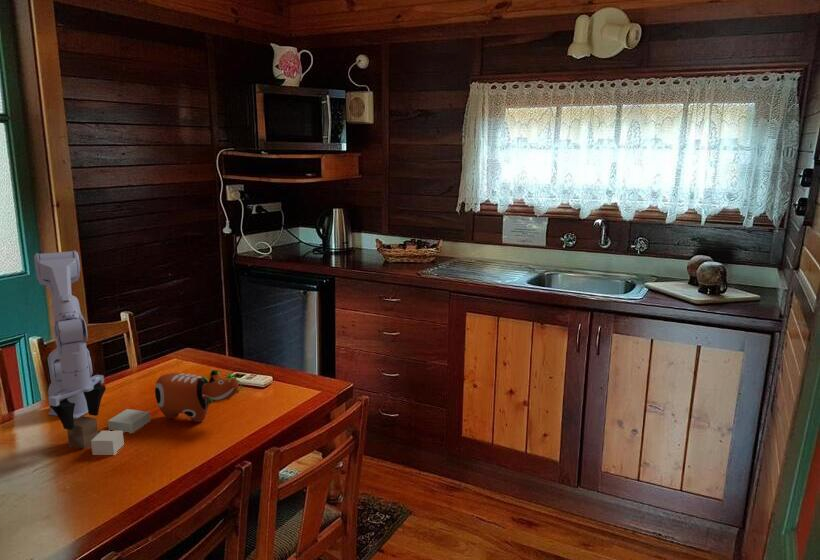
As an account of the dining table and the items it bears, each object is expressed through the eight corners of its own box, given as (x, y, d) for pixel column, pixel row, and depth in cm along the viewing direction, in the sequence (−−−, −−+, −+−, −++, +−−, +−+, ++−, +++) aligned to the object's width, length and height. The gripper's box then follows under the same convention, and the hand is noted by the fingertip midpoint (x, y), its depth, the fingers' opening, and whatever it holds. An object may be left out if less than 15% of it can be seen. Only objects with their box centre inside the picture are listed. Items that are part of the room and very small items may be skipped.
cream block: (92, 456, 136) (91, 440, 135) (103, 445, 141) (101, 430, 140) (114, 456, 136) (112, 440, 135) (124, 445, 141) (122, 430, 140)
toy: (230, 435, 147) (226, 379, 143) (149, 425, 151) (144, 371, 148) (249, 417, 156) (246, 365, 153) (172, 409, 161) (168, 358, 158)
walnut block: (69, 447, 140) (66, 424, 139) (83, 438, 144) (81, 416, 143) (84, 449, 139) (81, 426, 138) (99, 440, 143) (96, 418, 142)
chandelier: (252, 391, 173) (251, 369, 172) (209, 409, 162) (207, 386, 160) (221, 379, 182) (219, 359, 180) (178, 395, 170) (176, 373, 169)
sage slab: (109, 431, 149) (107, 420, 148) (128, 419, 155) (126, 409, 155) (132, 434, 147) (131, 424, 146) (150, 422, 154) (149, 412, 153)
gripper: (63, 381, 130) (71, 437, 132) (111, 359, 143) (117, 410, 146) (38, 378, 131) (45, 433, 134) (88, 357, 145) (94, 407, 148)
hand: (81, 421), depth 140 cm, fingers open, 7 cm apart
